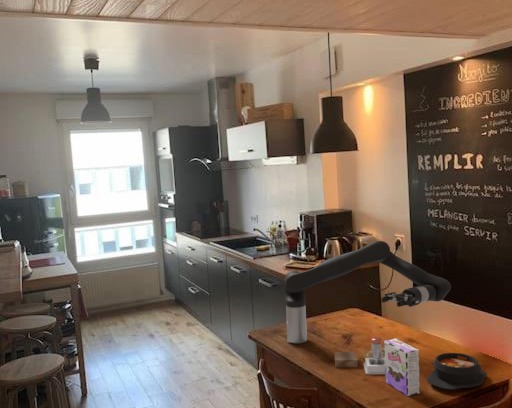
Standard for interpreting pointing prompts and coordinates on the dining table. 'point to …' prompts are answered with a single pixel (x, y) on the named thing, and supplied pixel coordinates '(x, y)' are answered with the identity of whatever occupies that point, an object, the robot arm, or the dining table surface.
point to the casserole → (456, 371)
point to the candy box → (402, 366)
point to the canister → (376, 351)
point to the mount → (345, 359)
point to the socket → (374, 367)
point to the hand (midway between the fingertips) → (389, 302)
